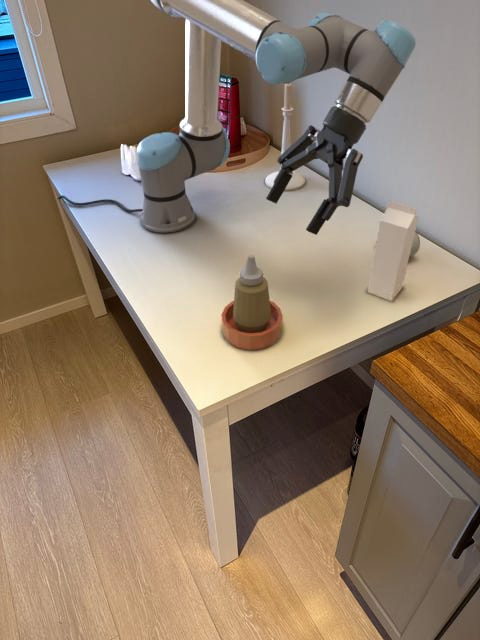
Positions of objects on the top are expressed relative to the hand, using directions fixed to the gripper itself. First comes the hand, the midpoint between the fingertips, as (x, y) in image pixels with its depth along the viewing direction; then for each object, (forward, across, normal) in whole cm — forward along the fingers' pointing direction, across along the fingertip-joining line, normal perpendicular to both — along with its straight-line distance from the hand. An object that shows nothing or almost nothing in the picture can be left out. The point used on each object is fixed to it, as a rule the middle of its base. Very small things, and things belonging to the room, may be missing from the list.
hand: (290, 216), depth 96 cm
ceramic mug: (-1, 0, -40) cm, 40 cm away
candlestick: (0, +50, -44) cm, 66 cm away
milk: (+5, -10, -30) cm, 32 cm away
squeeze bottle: (+24, -5, -3) cm, 25 cm away
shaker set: (+24, +82, -12) cm, 86 cm away
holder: (+24, -5, -3) cm, 25 cm away
